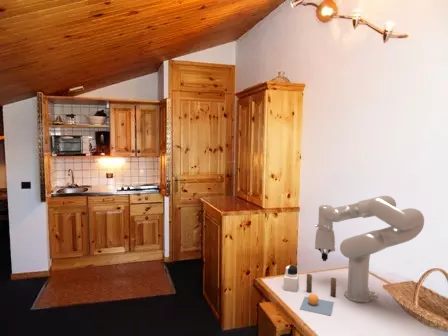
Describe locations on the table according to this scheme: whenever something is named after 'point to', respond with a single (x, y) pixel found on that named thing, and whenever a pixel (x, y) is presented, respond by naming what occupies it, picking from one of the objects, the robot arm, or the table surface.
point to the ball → (313, 299)
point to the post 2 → (333, 287)
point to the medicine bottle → (291, 279)
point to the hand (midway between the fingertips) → (324, 260)
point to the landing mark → (317, 306)
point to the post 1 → (309, 283)
